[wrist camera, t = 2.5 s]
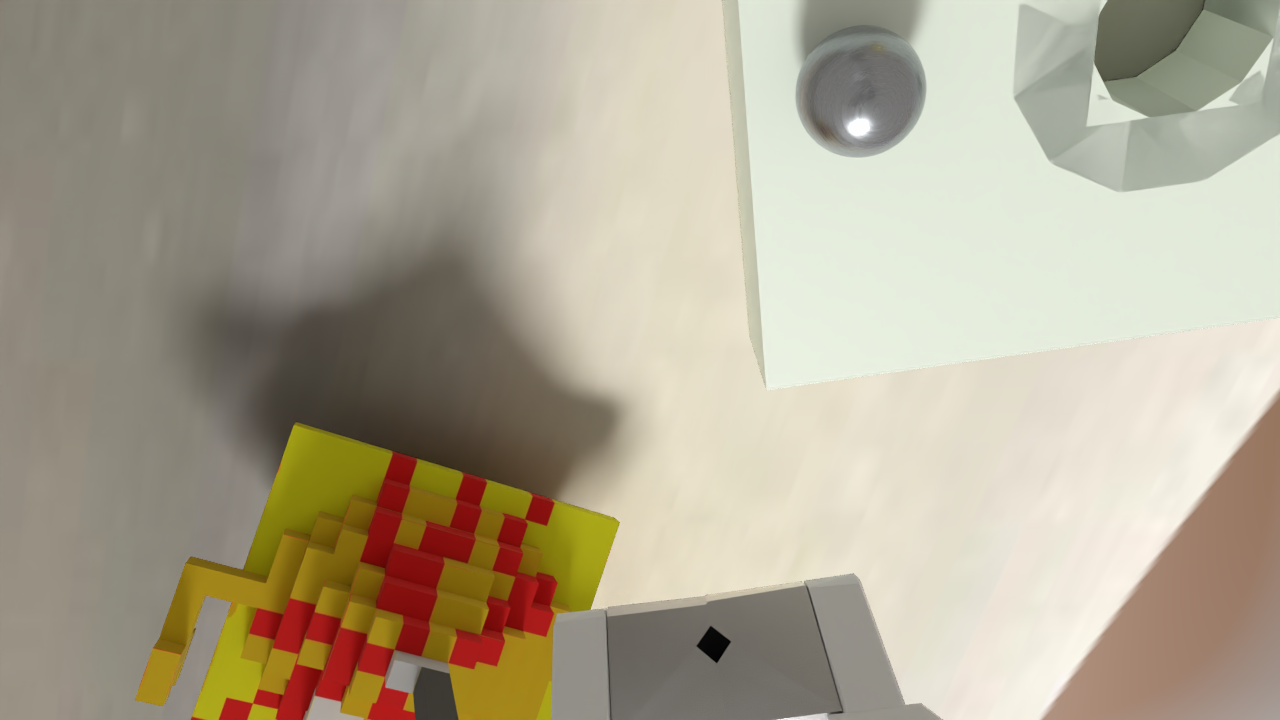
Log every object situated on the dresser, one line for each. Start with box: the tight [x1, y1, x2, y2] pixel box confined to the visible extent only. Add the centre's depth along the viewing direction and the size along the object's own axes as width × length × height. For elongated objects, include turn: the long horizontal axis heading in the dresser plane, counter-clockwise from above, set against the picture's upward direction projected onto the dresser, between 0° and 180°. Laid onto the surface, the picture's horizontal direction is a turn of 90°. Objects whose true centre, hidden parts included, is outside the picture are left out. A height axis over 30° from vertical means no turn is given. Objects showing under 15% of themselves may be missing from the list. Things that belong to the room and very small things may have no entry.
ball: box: [795, 25, 927, 158], centre depth 23 cm, size 3×3×3 cm
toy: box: [135, 422, 620, 720], centre depth 30 cm, size 14×10×15 cm
